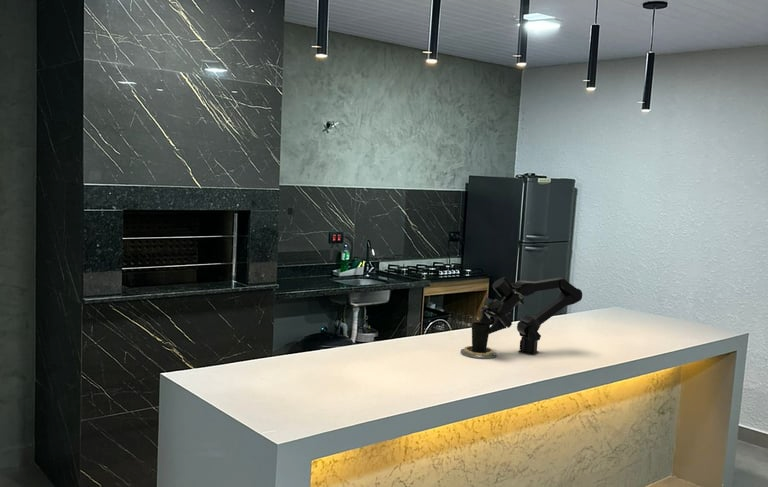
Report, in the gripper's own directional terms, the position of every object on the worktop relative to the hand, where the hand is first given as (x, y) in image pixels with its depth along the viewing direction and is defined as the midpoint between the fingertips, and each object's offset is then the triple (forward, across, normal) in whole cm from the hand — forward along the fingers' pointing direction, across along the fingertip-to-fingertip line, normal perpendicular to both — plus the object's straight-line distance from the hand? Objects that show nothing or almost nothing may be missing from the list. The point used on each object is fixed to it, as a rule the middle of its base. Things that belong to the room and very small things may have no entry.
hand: (482, 331), depth 287 cm
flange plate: (+8, 0, +6) cm, 10 cm away
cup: (+7, 0, +6) cm, 9 cm away
